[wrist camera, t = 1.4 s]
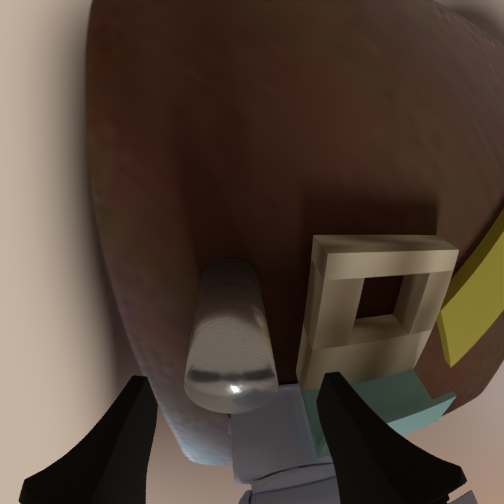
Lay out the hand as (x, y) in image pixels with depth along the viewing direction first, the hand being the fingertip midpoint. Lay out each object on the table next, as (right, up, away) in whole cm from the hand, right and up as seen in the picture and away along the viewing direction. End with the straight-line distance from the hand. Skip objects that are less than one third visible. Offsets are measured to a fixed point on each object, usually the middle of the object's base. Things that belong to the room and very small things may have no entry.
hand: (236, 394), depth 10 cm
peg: (-1, +4, +9) cm, 9 cm away
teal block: (+10, -4, +10) cm, 15 cm away
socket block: (+10, +1, +11) cm, 15 cm away
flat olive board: (+28, +5, +11) cm, 31 cm away
